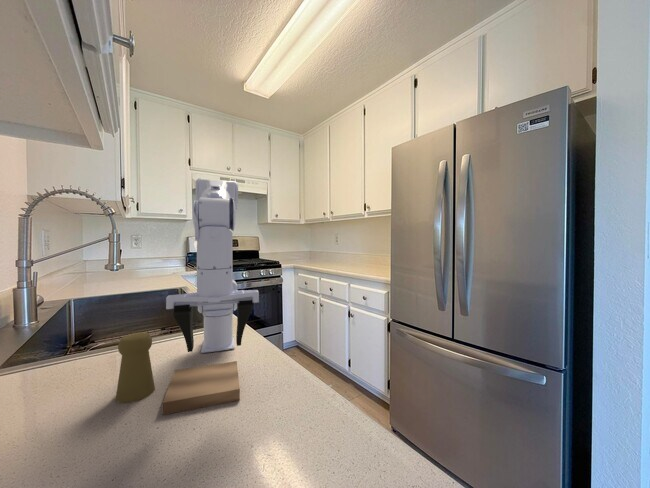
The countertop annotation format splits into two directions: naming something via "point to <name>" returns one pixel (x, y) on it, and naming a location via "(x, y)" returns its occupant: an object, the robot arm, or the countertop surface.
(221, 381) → the walnut base
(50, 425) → the countertop surface
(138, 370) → the olive tapered knobbed peg
